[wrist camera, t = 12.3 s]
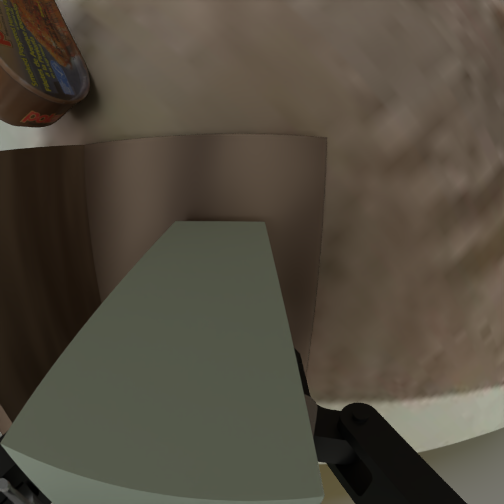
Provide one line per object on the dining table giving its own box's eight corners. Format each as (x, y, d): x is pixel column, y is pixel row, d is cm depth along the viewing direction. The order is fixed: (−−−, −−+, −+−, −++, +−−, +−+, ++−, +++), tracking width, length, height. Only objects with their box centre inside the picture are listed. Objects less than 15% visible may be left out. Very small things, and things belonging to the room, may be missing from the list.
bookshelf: (317, 138, 16) (529, 128, 3) (291, 426, 23) (311, 576, 10) (78, 147, 16) (-133, 185, 2) (129, 418, 23) (86, 552, 9)
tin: (108, 105, 15) (16, 86, 7) (71, 137, 15) (-28, 143, 7) (43, -27, 11) (-19, -64, 3) (13, 1, 11) (-53, -26, 3)
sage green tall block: (264, 221, 14) (324, 495, 2) (258, 390, 17) (268, 587, 6) (175, 221, 14) (0, 442, 2) (191, 388, 17) (158, 579, 5)
